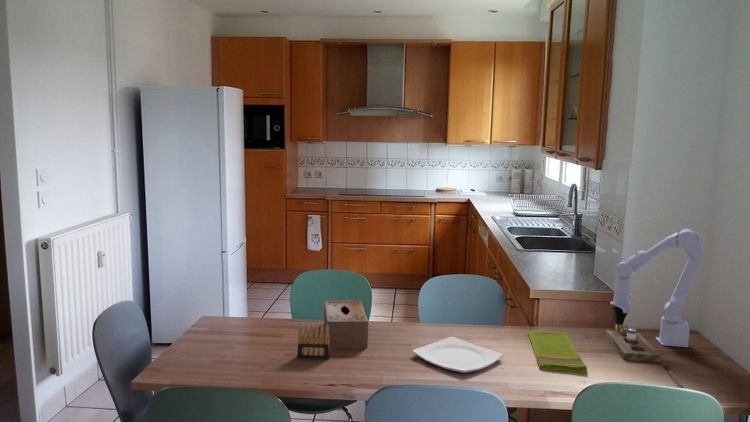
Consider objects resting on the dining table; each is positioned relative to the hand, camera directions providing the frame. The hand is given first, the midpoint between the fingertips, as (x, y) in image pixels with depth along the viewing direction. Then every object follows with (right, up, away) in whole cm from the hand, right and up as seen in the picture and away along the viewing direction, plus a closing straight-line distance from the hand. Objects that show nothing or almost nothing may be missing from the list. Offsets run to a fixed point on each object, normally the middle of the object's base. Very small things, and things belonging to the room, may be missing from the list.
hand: (619, 325), depth 228 cm
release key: (-1, -2, -5) cm, 6 cm away
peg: (-2, -5, -15) cm, 16 cm away
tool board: (-2, -5, -16) cm, 17 cm away
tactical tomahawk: (+1, -10, -42) cm, 43 cm away
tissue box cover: (-108, -2, -13) cm, 109 cm away
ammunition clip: (-118, -4, -36) cm, 123 cm away
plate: (-69, -6, -32) cm, 76 cm away
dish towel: (-32, -6, -22) cm, 40 cm away
